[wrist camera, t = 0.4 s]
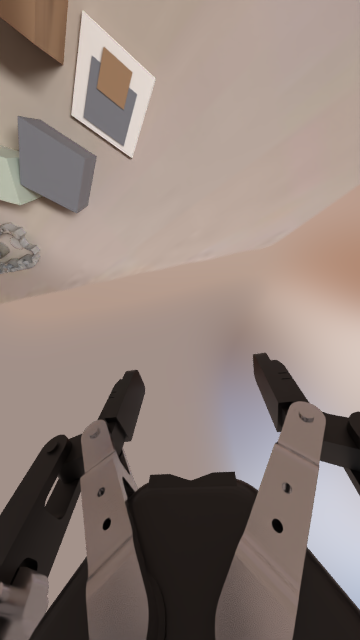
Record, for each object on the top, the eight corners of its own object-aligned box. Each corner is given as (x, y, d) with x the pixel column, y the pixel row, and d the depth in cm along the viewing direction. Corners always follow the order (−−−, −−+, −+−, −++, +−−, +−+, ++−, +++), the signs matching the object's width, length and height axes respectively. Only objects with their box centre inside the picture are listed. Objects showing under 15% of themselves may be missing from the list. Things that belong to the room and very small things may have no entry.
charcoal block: (40, 179, 27) (20, 184, 24) (41, 120, 23) (17, 115, 20) (88, 205, 30) (76, 213, 26) (97, 156, 26) (84, 158, 22)
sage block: (7, 186, 28) (-23, 193, 23) (-7, 142, 24) (-45, 142, 20) (43, 196, 29) (20, 205, 25) (34, 156, 25) (6, 158, 21)
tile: (72, 115, 23) (70, 114, 22) (84, 12, 18) (81, 8, 17) (132, 158, 26) (131, 158, 25) (155, 79, 21) (155, 77, 20)
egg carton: (19, 218, 31) (4, 226, 28) (49, 258, 36) (38, 268, 34) (-33, 230, 32) (-53, 239, 29) (3, 267, 37) (-11, 278, 35)
